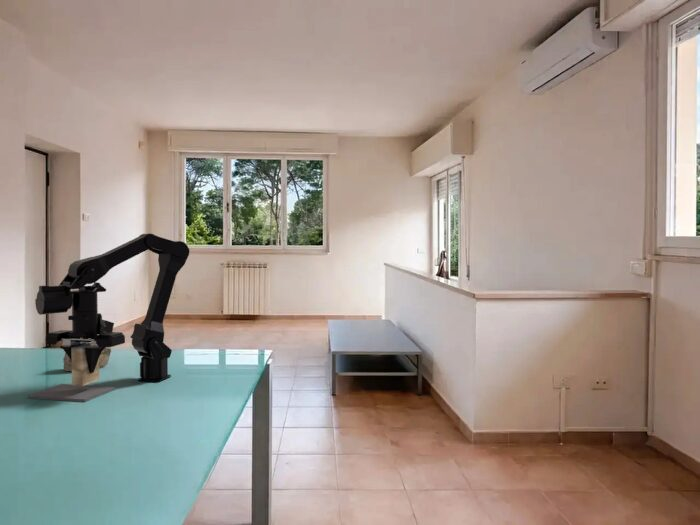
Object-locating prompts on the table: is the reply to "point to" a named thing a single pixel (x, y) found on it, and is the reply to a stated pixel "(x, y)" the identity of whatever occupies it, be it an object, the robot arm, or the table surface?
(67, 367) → the rock
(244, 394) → the table surface
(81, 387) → the mat
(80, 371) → the wooden block
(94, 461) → the table surface
